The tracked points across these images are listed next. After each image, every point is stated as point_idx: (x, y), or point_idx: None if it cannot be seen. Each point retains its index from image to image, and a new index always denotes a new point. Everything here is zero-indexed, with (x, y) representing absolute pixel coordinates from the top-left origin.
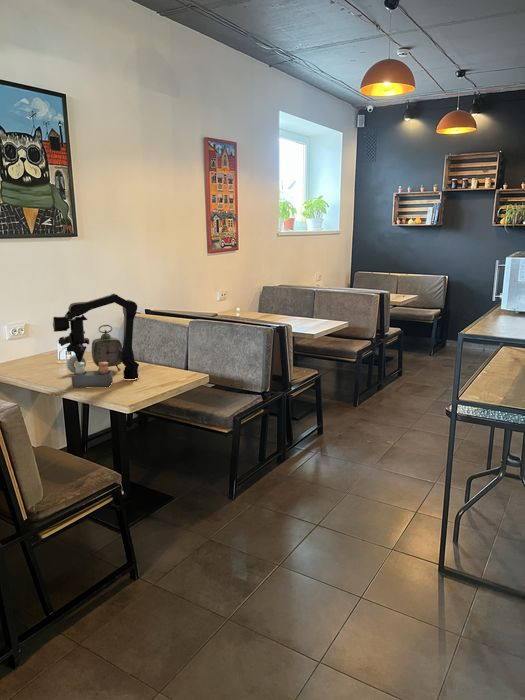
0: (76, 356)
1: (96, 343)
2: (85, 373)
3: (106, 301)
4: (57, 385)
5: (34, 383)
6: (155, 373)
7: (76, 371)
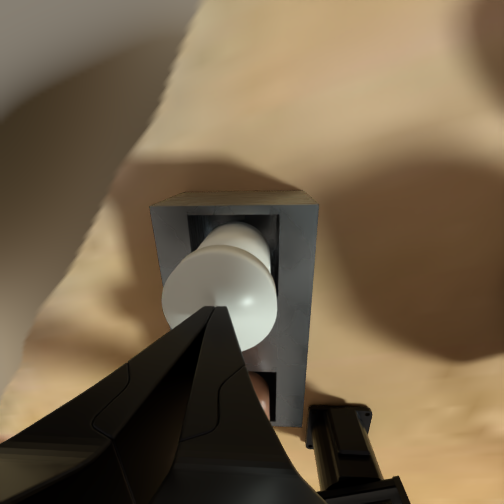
0: (130, 364)
1: None
2: (277, 279)
3: None
4: (252, 56)
5: None
6: (411, 487)
7: (201, 243)
